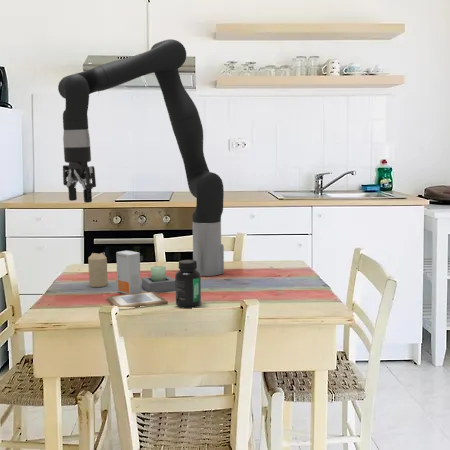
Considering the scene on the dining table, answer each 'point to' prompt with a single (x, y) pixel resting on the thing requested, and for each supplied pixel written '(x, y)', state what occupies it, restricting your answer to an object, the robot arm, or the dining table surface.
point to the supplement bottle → (188, 284)
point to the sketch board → (137, 300)
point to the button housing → (158, 285)
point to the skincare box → (128, 272)
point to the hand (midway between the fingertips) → (80, 201)
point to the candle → (97, 270)
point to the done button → (158, 273)
